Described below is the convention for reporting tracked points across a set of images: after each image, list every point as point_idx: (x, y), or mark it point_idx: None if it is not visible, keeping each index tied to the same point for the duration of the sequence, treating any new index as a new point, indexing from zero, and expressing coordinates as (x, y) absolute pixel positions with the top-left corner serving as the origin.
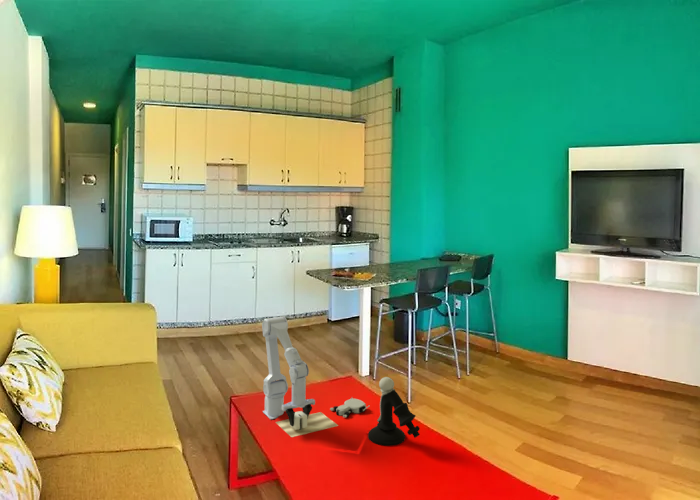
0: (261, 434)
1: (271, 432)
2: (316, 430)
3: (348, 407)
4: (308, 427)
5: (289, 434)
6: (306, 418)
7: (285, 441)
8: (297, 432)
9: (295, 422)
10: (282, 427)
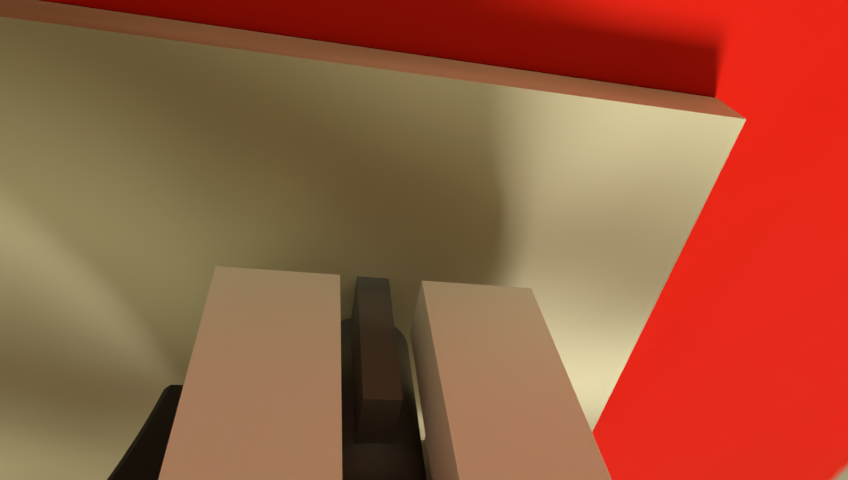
0: (824, 449)
1: (703, 440)
2: (6, 49)
3: None
4: (148, 285)
5: (668, 239)
6: (193, 469)
7: (843, 101)
8: (491, 224)
9: (588, 433)
10: None
